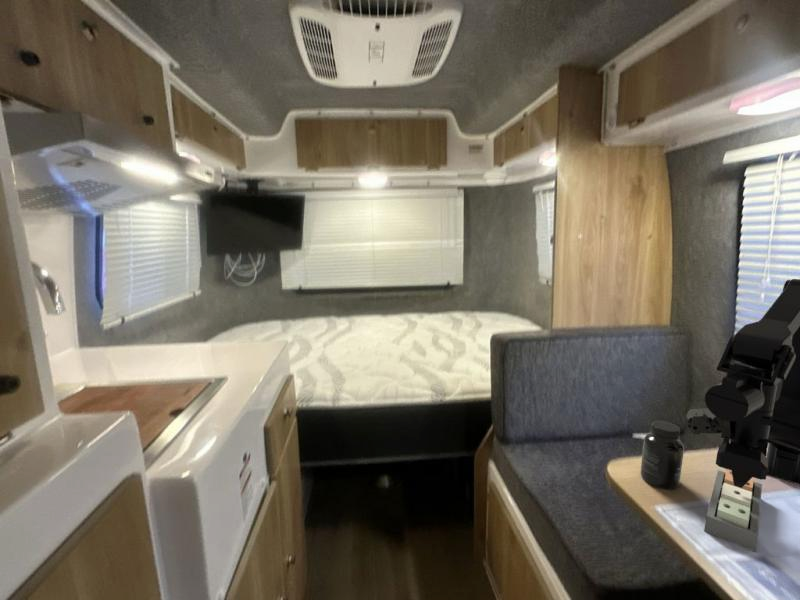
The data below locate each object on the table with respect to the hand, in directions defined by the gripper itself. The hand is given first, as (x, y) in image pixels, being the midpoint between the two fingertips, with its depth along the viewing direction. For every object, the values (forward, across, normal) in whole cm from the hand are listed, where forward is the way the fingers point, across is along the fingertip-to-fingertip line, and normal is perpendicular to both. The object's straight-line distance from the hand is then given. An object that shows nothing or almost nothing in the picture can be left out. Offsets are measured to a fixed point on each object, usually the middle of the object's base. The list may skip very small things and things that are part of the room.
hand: (737, 485), depth 72 cm
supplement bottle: (+6, -2, -12) cm, 14 cm away
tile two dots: (+4, +6, 0) cm, 7 cm away
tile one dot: (+4, 0, 0) cm, 4 cm away
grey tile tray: (+6, 0, 0) cm, 6 cm away
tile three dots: (+4, -5, 0) cm, 7 cm away
